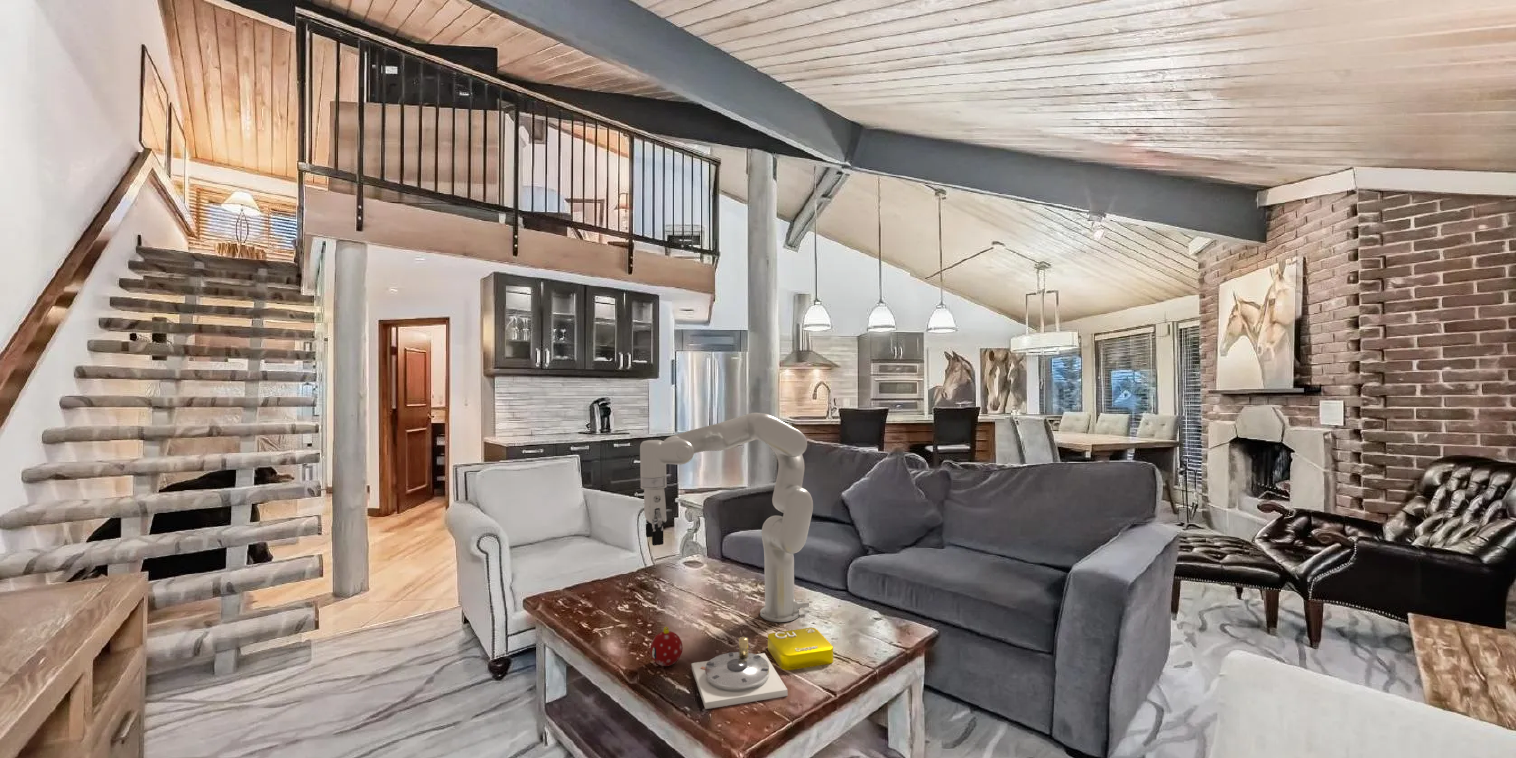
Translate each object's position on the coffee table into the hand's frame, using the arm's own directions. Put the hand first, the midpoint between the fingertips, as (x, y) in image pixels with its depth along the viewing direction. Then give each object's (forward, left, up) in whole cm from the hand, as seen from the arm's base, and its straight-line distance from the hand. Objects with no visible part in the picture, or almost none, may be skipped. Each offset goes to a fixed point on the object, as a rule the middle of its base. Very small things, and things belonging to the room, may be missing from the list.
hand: (654, 540), depth 176 cm
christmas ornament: (-1, +17, -29) cm, 34 cm away
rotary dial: (-17, +31, -27) cm, 45 cm away
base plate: (-17, +31, -29) cm, 46 cm away
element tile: (-37, +22, -30) cm, 52 cm away
